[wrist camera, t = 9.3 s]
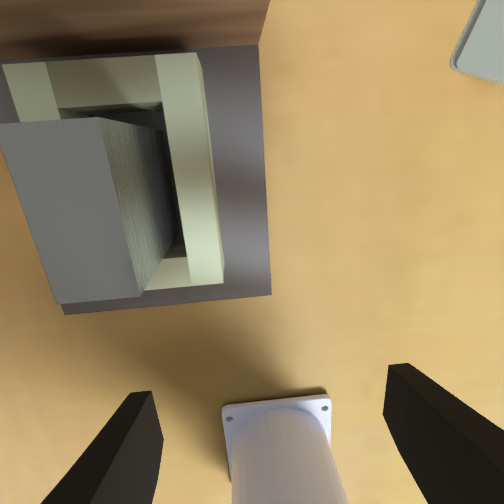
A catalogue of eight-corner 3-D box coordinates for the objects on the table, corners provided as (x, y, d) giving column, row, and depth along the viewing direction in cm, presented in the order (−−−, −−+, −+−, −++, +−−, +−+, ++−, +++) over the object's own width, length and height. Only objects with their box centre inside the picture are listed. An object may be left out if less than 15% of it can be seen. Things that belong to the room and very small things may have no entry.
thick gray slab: (178, 232, 15) (140, 296, 9) (131, 236, 15) (56, 304, 9) (162, 130, 14) (97, 116, 7) (108, 134, 14) (-7, 124, 7)
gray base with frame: (269, 287, 18) (286, 351, 12) (73, 305, 18) (-1, 381, 12) (254, 12, 13) (271, -88, 7) (-19, 28, 13) (-218, -66, 7)
